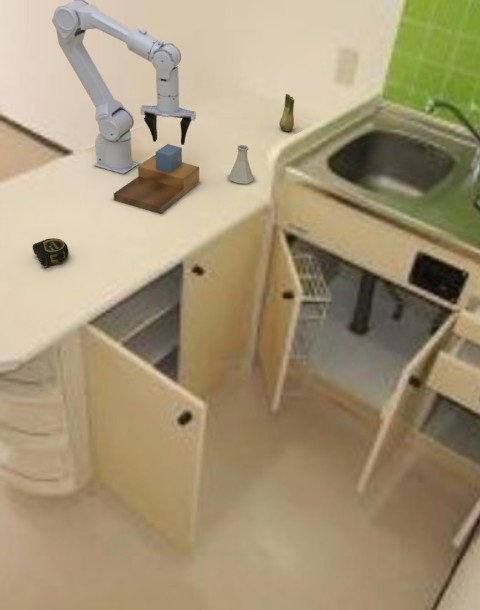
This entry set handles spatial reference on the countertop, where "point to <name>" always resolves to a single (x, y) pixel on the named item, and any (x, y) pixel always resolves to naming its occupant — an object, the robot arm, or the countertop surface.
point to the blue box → (168, 158)
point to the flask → (241, 167)
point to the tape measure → (51, 251)
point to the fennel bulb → (287, 114)
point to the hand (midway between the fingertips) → (169, 141)
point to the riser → (158, 186)
